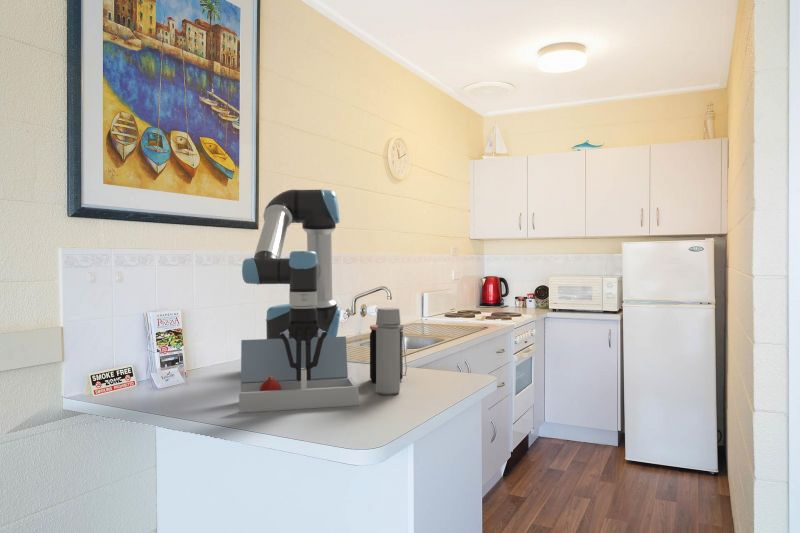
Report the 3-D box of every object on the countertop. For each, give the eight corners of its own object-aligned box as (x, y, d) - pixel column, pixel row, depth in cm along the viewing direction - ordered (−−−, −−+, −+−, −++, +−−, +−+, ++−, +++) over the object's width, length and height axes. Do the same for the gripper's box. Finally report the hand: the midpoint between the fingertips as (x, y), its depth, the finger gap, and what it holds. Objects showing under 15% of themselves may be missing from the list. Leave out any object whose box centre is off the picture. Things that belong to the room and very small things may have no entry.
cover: (241, 385, 156) (241, 341, 160) (347, 379, 164) (345, 337, 168) (240, 384, 155) (241, 340, 159) (347, 379, 162) (345, 336, 166)
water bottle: (377, 396, 161) (377, 309, 161) (374, 390, 169) (374, 307, 168) (408, 395, 162) (408, 309, 162) (404, 388, 170) (404, 307, 170)
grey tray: (241, 401, 155) (240, 383, 155) (351, 394, 163) (351, 377, 163) (239, 412, 144) (239, 393, 144) (358, 405, 151) (358, 386, 151)
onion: (258, 403, 153) (258, 374, 153) (279, 401, 155) (279, 372, 155) (261, 408, 148) (261, 378, 148) (283, 406, 150) (283, 376, 150)
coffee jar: (399, 385, 175) (399, 328, 175) (366, 383, 177) (366, 327, 177) (405, 378, 186) (405, 324, 186) (374, 376, 188) (374, 323, 188)
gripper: (279, 308, 148) (279, 397, 148) (328, 307, 151) (328, 394, 151) (278, 306, 155) (279, 390, 156) (325, 305, 158) (325, 388, 159)
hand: (303, 392), depth 153 cm, fingers closed
